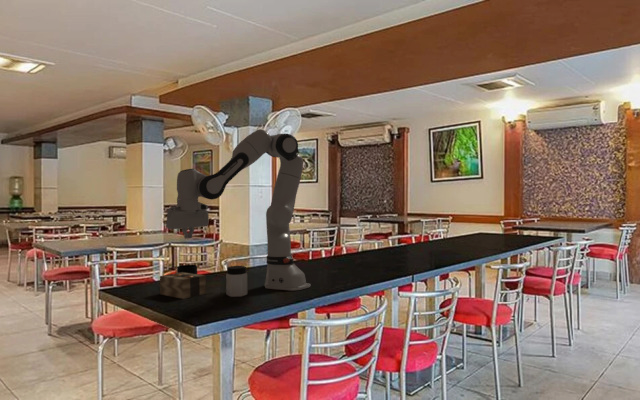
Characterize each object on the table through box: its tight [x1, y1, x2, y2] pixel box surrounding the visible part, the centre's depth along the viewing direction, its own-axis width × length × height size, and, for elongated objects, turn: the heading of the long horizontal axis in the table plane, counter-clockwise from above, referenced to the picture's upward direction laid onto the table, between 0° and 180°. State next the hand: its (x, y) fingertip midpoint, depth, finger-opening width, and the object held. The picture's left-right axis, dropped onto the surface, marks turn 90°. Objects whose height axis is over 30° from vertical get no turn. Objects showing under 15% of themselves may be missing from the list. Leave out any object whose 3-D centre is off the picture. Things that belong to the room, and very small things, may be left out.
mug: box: [176, 264, 198, 274], centre depth 224 cm, size 9×12×9 cm
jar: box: [225, 265, 248, 298], centre depth 202 cm, size 9×8×12 cm
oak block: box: [159, 272, 207, 300], centre depth 204 cm, size 16×12×8 cm
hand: (188, 238), depth 201 cm, fingers closed
